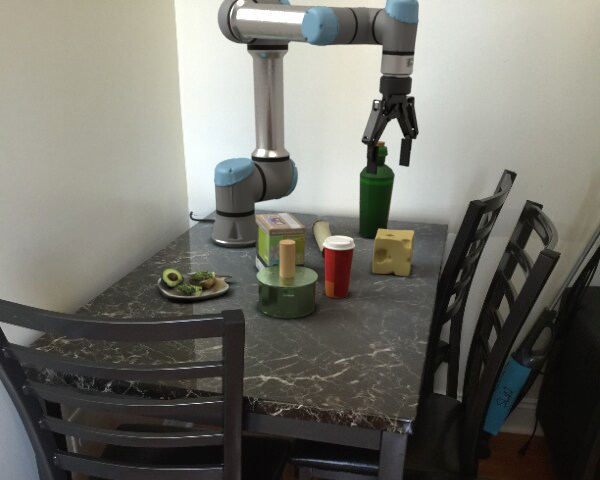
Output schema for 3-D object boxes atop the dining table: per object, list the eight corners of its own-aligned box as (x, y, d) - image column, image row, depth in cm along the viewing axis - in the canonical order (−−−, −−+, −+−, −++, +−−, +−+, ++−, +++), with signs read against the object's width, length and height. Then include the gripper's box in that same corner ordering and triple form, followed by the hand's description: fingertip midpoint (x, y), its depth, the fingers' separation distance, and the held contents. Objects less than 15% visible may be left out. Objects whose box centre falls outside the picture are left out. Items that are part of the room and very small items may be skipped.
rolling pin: (310, 232, 209) (311, 216, 206) (328, 232, 209) (328, 216, 207) (321, 266, 181) (322, 248, 179) (341, 266, 182) (342, 248, 179)
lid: (256, 291, 146) (255, 251, 141) (256, 269, 158) (256, 232, 153) (319, 291, 147) (321, 252, 142) (315, 269, 159) (316, 232, 154)
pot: (258, 323, 148) (258, 292, 144) (259, 292, 164) (258, 264, 160) (317, 323, 148) (318, 292, 144) (312, 292, 164) (313, 264, 160)
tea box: (305, 282, 170) (306, 226, 163) (268, 285, 168) (267, 229, 160) (289, 263, 183) (290, 210, 175) (254, 266, 180) (253, 213, 172)
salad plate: (222, 272, 176) (221, 255, 173) (245, 295, 162) (245, 277, 160) (151, 281, 169) (149, 264, 166) (169, 306, 155) (168, 288, 152)
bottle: (394, 234, 209) (403, 141, 195) (380, 242, 201) (388, 146, 187) (365, 228, 214) (371, 137, 199) (349, 236, 206) (355, 142, 192)
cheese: (409, 277, 175) (413, 241, 170) (369, 273, 177) (372, 237, 172) (411, 264, 184) (415, 229, 179) (373, 261, 186) (376, 226, 180)
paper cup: (355, 291, 166) (358, 237, 159) (347, 301, 160) (350, 246, 152) (326, 286, 168) (328, 233, 161) (317, 297, 162) (318, 242, 154)
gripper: (376, 79, 142) (369, 179, 153) (439, 74, 158) (428, 165, 169) (350, 76, 146) (344, 174, 157) (413, 71, 162) (404, 160, 173)
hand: (388, 169), depth 163 cm, fingers open, 13 cm apart
